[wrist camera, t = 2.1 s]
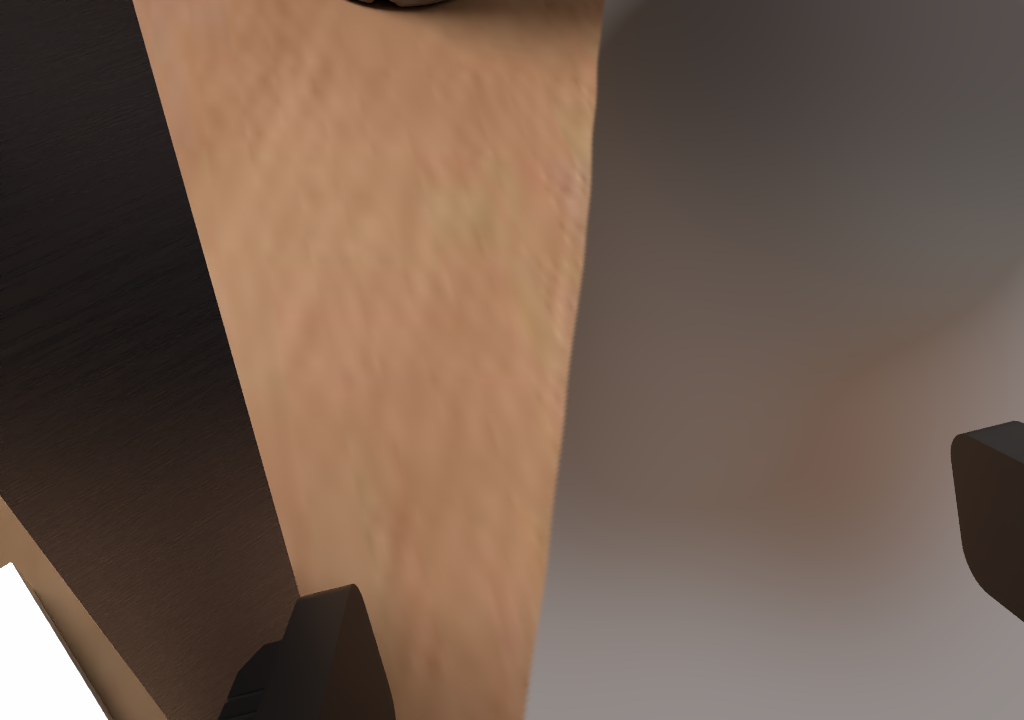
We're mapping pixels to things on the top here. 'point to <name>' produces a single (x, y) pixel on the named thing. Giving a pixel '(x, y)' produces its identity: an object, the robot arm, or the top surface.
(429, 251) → the top surface
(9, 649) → the press
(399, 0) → the plant pot
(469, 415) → the top surface
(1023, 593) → the robot arm
